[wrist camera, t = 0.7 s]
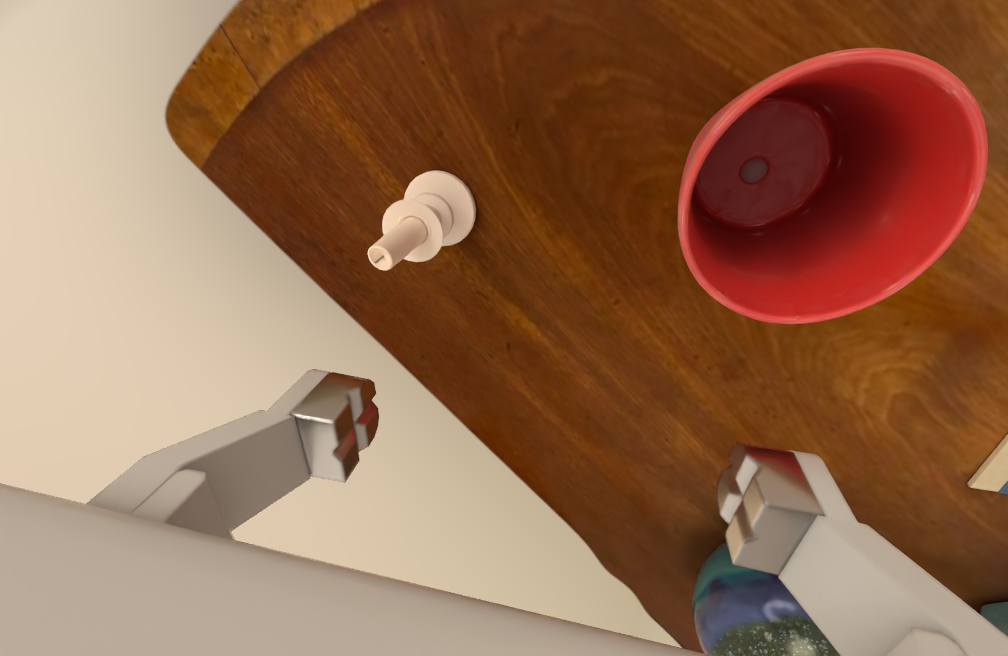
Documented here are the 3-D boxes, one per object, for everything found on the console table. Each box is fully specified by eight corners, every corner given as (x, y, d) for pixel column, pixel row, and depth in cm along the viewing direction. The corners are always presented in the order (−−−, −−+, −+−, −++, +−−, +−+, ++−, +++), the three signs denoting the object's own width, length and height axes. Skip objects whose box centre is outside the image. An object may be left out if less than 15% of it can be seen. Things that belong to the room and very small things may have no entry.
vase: (653, 565, 46) (667, 726, 35) (746, 478, 38) (804, 652, 26) (788, 622, 46) (846, 801, 35) (910, 548, 38) (1038, 751, 26)
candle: (446, 257, 33) (387, 325, 24) (392, 208, 32) (310, 260, 23) (491, 208, 30) (443, 264, 22) (434, 153, 29) (359, 188, 20)
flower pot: (642, 244, 29) (654, 311, 21) (682, 52, 24) (719, 42, 16) (813, 262, 28) (899, 342, 20) (900, 59, 22) (1070, 53, 14)
